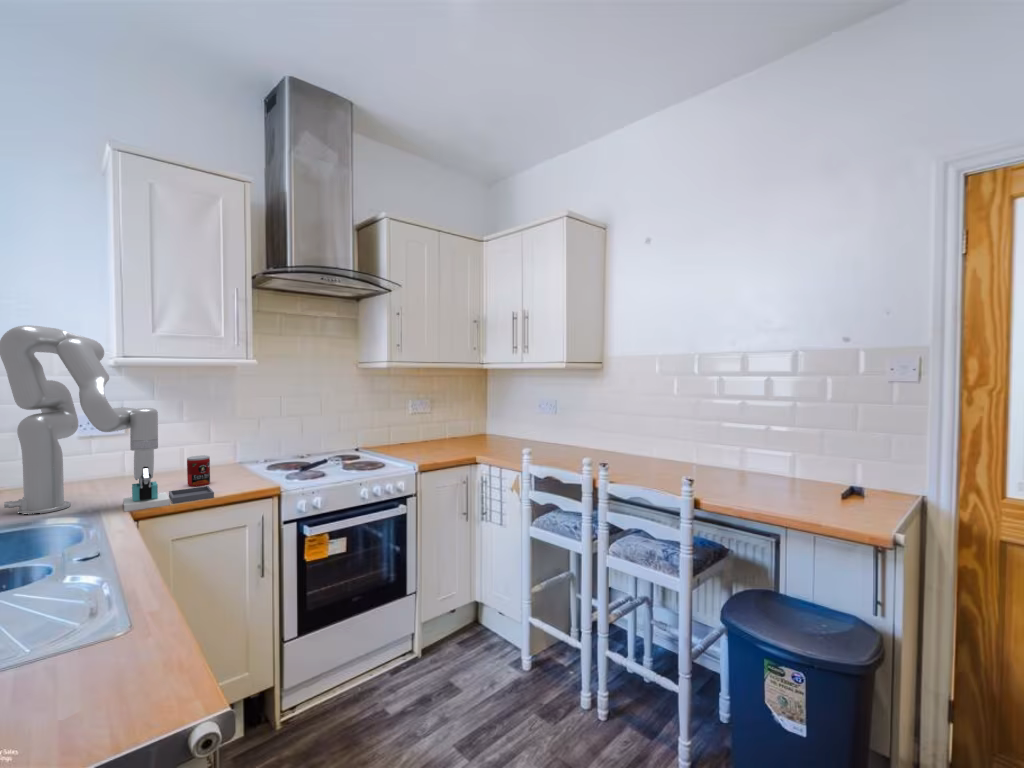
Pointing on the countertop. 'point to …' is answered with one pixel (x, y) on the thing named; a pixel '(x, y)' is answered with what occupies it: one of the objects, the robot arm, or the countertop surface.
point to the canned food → (198, 470)
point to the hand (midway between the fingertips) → (144, 496)
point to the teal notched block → (137, 491)
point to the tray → (191, 494)
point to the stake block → (146, 502)
